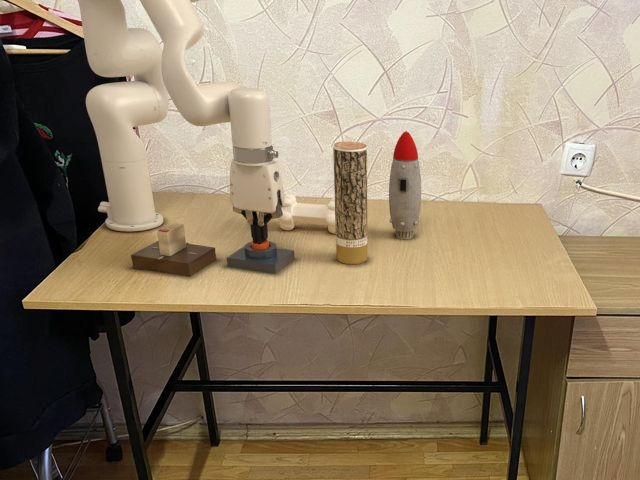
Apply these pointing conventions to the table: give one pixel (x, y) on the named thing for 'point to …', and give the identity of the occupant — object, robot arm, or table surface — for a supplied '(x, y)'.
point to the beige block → (171, 239)
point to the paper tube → (350, 201)
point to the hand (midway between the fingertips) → (260, 241)
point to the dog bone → (307, 213)
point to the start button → (260, 245)
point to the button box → (261, 258)
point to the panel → (174, 259)
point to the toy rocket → (405, 187)
